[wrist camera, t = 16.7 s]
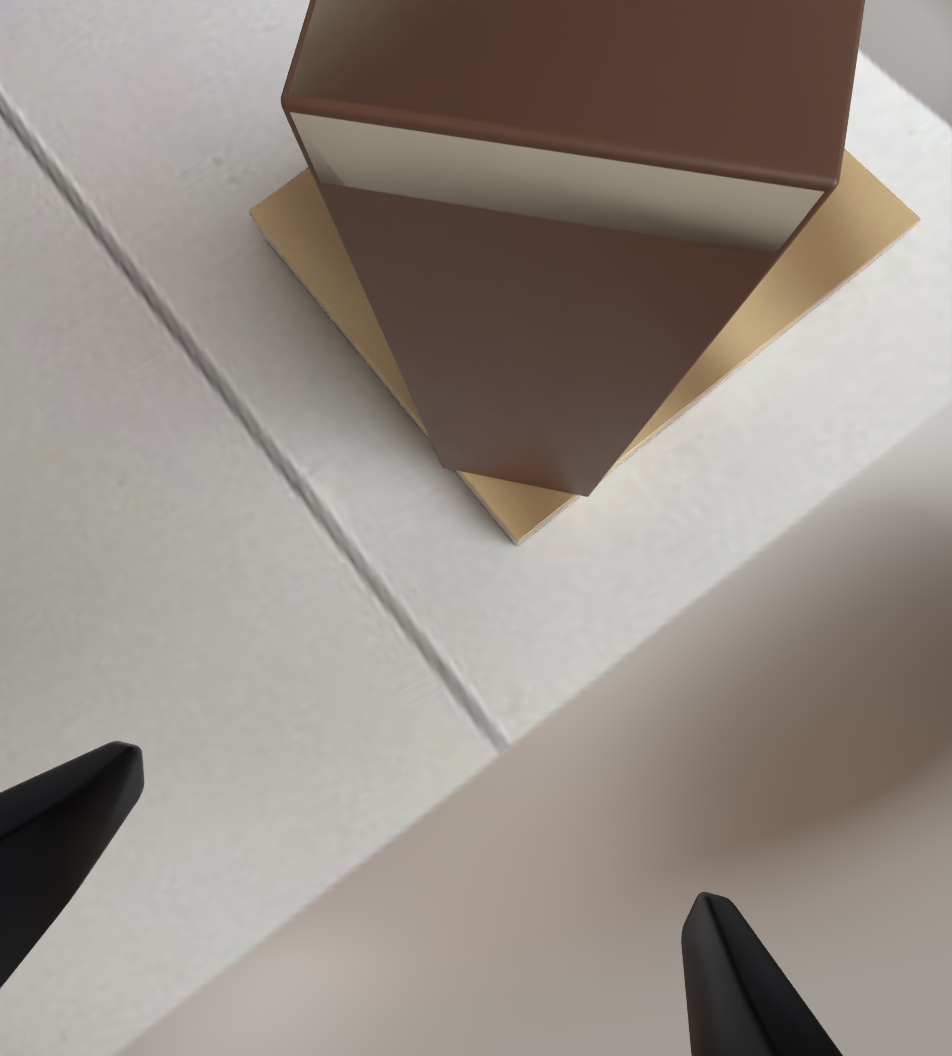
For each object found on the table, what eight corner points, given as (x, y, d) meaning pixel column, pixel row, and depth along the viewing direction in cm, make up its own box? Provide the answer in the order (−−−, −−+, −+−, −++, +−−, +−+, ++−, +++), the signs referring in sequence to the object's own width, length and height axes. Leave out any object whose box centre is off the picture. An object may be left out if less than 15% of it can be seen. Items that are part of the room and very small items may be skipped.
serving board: (517, 547, 19) (518, 542, 17) (265, 238, 21) (247, 211, 19) (890, 247, 19) (922, 218, 18) (609, -17, 22) (617, -62, 20)
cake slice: (588, 497, 17) (841, 186, 4) (442, 467, 18) (276, 101, 5) (635, 253, 18) (947, -569, 5) (497, 230, 19) (485, -585, 6)
